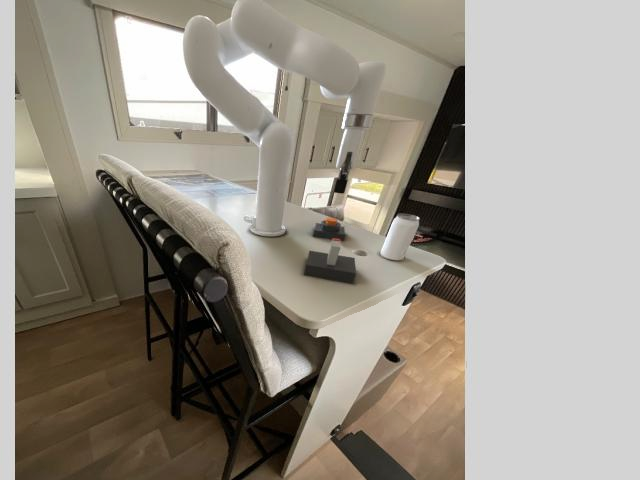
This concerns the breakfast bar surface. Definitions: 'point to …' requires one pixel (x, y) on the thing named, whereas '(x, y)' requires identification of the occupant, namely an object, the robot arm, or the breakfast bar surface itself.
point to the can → (400, 236)
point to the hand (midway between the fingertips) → (338, 192)
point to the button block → (329, 231)
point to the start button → (331, 221)
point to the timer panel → (330, 267)
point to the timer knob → (333, 251)
